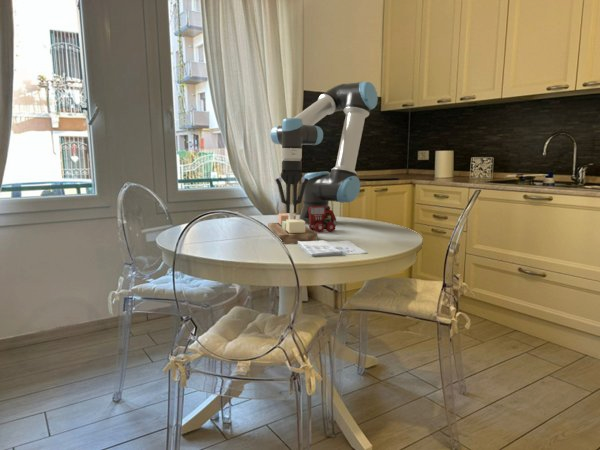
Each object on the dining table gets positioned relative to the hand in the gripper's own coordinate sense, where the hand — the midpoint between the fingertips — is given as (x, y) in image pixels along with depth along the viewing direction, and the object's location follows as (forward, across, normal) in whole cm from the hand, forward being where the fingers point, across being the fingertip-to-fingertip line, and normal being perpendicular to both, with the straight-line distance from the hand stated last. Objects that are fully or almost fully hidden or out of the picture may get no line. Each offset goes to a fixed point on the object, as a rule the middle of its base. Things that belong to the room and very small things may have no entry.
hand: (291, 221), depth 168 cm
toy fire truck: (+6, +15, +8) cm, 18 cm away
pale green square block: (+4, 0, 0) cm, 4 cm away
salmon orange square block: (+2, 0, +8) cm, 8 cm away
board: (+6, 0, 0) cm, 6 cm away
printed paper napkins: (+7, +9, -25) cm, 27 cm away
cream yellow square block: (+2, 0, -8) cm, 8 cm away
